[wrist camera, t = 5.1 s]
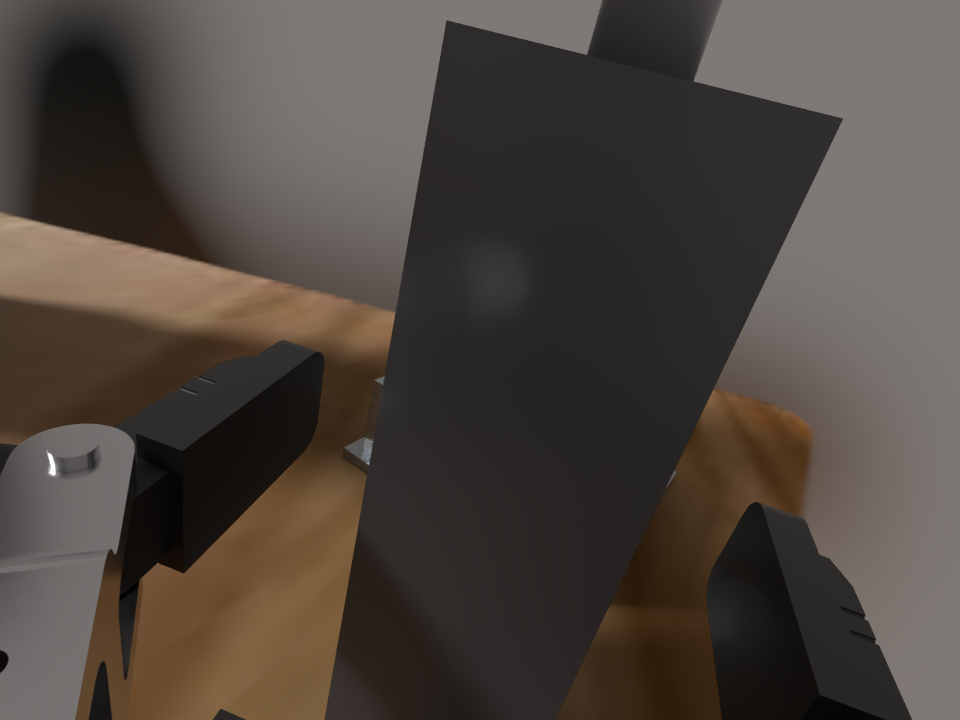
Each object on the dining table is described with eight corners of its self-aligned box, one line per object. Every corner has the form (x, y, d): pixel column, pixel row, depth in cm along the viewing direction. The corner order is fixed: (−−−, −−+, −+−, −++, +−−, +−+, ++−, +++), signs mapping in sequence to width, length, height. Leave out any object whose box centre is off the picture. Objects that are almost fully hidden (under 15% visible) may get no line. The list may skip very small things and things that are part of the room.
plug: (316, 766, 12) (502, -301, 5) (389, 617, 16) (560, -126, 8) (494, 845, 12) (1003, -216, 4) (528, 672, 15) (838, -68, 8)
